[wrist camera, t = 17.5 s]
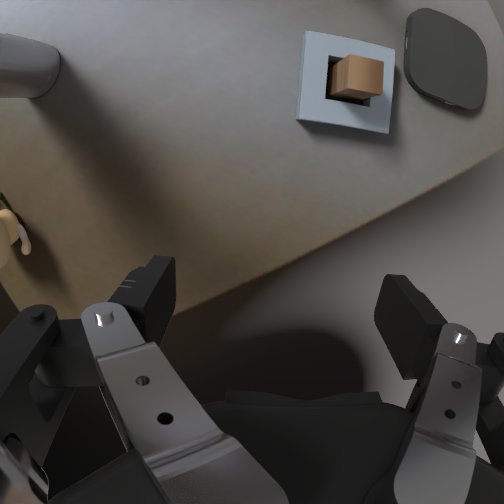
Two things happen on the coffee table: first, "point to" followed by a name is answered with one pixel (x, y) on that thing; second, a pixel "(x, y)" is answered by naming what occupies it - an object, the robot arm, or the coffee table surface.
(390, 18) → the coffee table surface
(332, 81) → the peg
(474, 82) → the media streaming box
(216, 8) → the coffee table surface
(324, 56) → the socket
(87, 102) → the coffee table surface
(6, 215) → the kitten
